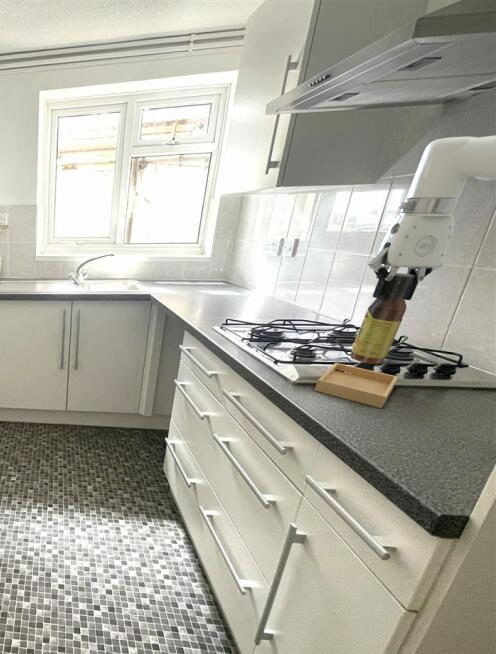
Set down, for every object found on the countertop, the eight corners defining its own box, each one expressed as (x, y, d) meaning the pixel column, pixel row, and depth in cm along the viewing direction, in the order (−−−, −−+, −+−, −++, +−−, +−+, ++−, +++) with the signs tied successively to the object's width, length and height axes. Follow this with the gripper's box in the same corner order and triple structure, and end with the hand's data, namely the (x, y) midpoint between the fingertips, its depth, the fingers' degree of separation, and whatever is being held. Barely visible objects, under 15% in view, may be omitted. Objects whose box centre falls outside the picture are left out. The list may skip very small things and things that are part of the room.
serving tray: (331, 372, 109) (335, 362, 108) (393, 387, 101) (398, 376, 100) (314, 390, 99) (318, 379, 98) (381, 408, 91) (386, 396, 90)
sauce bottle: (358, 354, 101) (393, 271, 93) (388, 363, 96) (429, 275, 88) (341, 357, 98) (376, 272, 90) (372, 366, 93) (412, 277, 85)
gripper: (400, 208, 81) (364, 301, 88) (491, 209, 80) (447, 303, 87) (369, 207, 87) (338, 294, 95) (453, 208, 87) (415, 295, 94)
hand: (391, 297), depth 91 cm, fingers closed on sauce bottle, 4 cm apart
